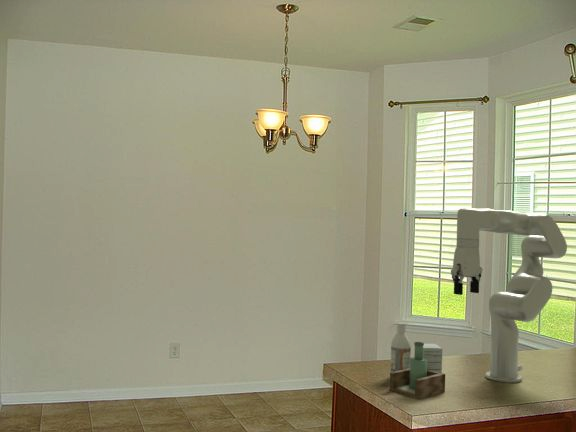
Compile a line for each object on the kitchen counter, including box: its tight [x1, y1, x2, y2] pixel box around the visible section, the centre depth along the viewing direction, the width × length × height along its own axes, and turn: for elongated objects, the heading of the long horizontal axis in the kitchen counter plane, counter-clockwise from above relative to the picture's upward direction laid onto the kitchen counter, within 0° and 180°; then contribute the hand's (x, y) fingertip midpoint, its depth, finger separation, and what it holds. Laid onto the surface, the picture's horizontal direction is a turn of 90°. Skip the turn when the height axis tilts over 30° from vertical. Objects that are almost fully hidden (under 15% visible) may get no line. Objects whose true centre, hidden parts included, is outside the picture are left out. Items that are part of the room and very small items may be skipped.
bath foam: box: [389, 322, 412, 373], centre depth 220 cm, size 7×7×20 cm
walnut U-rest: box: [389, 368, 446, 400], centre depth 204 cm, size 14×12×6 cm
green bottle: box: [409, 341, 427, 389], centre depth 204 cm, size 6×6×15 cm
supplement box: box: [423, 343, 443, 373], centre depth 218 cm, size 7×7×13 cm
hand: (466, 293), depth 211 cm, fingers open, 9 cm apart
